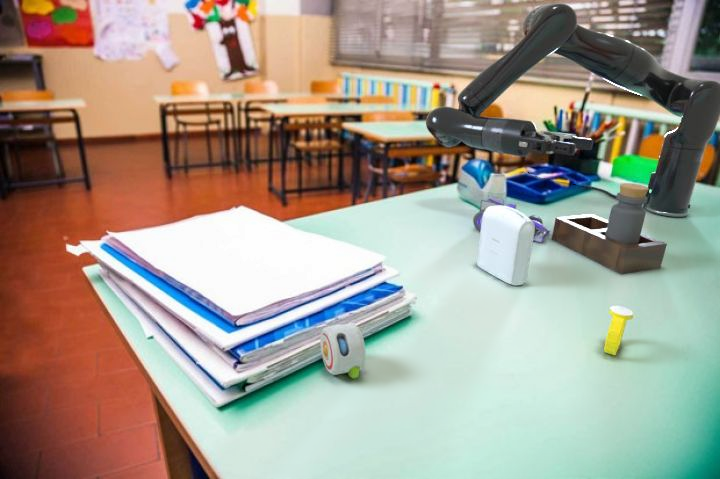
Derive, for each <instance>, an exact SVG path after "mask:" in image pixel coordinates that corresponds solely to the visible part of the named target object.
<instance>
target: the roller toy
mask: <svg viewBox="0 0 720 479" xmlns="http://www.w3.org/2000/svg"><path fill="white" fill-rule="evenodd" d="M319 342H320V343H319V344H320V353H321V358H322V361H323V364H324V367H325V369H326V370H327V372H328V373H329V374H331V375H334V376H337V375H341V374H348V376H349V377H350V378H351V379H356V378H357V379H358V378H359V375H360V370H362V369H363V367H364V366H365V363H366V354H367V352H366V344H365V339H364V336H363V334H362V331H361V329H360V328H359V326H358V325H357V324H355V323H353V322H347V323H346V324H333V325H329V326H325V327H324V328H323V329H322V330H321V333H320V340H319Z"/></svg>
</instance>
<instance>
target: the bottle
mask: <svg viewBox="0 0 720 479" xmlns="http://www.w3.org/2000/svg"><path fill="white" fill-rule="evenodd" d="M648 189H649V188H648V186H646V185H643V184H639V183H631V182H623V183H620V184H619V192H617V193H616V198H615V199H616V200H617V201H618V202H617V203H614V204H613V205H612V206H611V208H610V212H609V215H608V219H607V220H608V225H607V229H606V233H605V236H606V237H608V238H611V239H613V240H615V241H618V242H620V243H622V244H625V245H634V244H638V242H639V239H640V235H641V234H642V230H643V226H644V223H645V218H646V214H647V210H646V209H645V208H643V204H645V203H646V202H647V197H646V196H645V195H646V193H647V191H648Z"/></svg>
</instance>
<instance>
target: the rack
mask: <svg viewBox="0 0 720 479" xmlns="http://www.w3.org/2000/svg"><path fill="white" fill-rule="evenodd" d="M608 220H609V219H605V218H603V217H600V216H597V215H595V214H593V213H590V214H589V213H588V214H580V215H579V214H578V215H569V216H557V217H555V219H554V224H553V230H552V235H551V240H552V241H553V242H555V243H558V244H560V245H562V246H564V247H566V248H568V249H570V250H571V251H574V252H576V253H578V254H579V255H582V256H584V257H585V258H587V259H590V260H592V261H594V262H596V263H597V264H600V265H602V266H604V267H606V268H608V269H610V270H611V271H614V272H616V273H619V274H620V275H624V274H631V273H637V272H645V271H650V270H657V269H661V267H662V264H663V261H664V258H665V253H666V250H667V246H668V243H666V242H664V241H662V240H659V239H656V238H654V237H651V236H649V235H646V234H643V233H641V235H640V239H639V242H638V244H634V245H625V244H622V243H620V242H618V241H615V240H613V239H611V238H608V237H606V236H605V233H606V229H607V225H608Z"/></svg>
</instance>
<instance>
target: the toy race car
mask: <svg viewBox="0 0 720 479" xmlns="http://www.w3.org/2000/svg"><path fill="white" fill-rule="evenodd" d="M504 202H505V200H504V199H503V198H502V197H496V196H493V195H488V196H487V199H486V200H484V199H480V206H479V207H480V208H479V211H478V212H477V213H476V214H474V216H473V219H472V222H473V223H472V224H473V226H474V228H475V229H476V230H477V231H479V232H480V231H481V224H482V216H483V213H484V211H485V210H486V209H487V208H488V207H490V206H496V205H502V206H508V207H511V208H514V209H516V210H517V205H516V204H515V203H508V204H506V205H505V204H504ZM527 217H528V218H529V219H530V220H531V221H532V222H533V223H534V226H535V232H534V238H533V242H537V243H543V240H544V237H545V236H546V235H550V233H551V230H550V229H548V228H546V226H544V225H543V224H544V223H543V220H542V218H541V217H540V216H538V215H536V214H533V215H529V216H527ZM539 231H540V232H539ZM537 232H539V233H540V234H539V235H537V234H536V233H537Z"/></svg>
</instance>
